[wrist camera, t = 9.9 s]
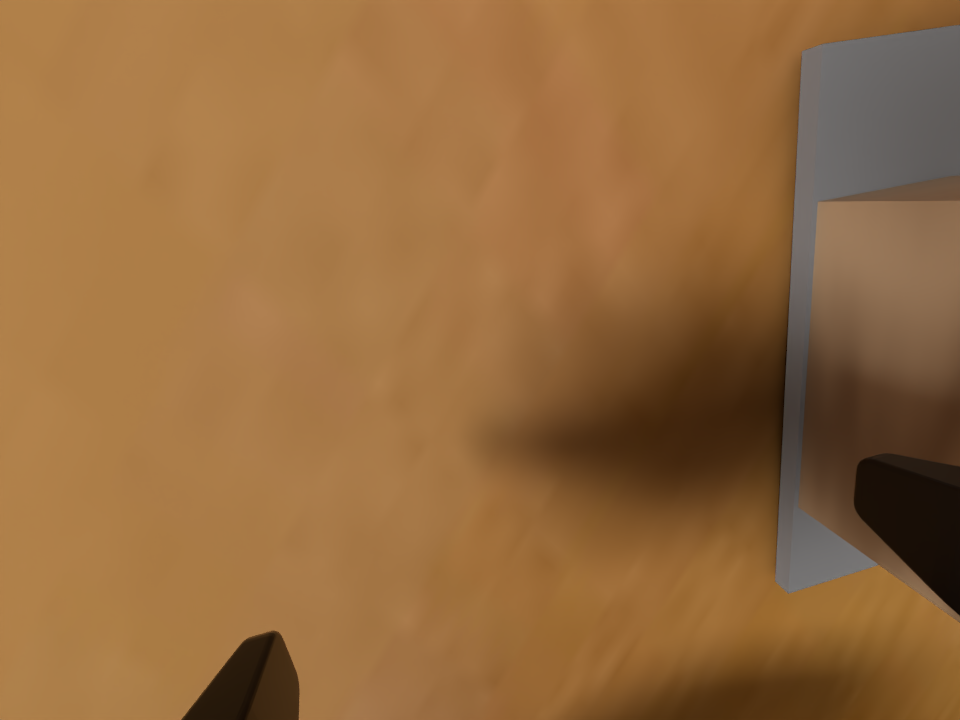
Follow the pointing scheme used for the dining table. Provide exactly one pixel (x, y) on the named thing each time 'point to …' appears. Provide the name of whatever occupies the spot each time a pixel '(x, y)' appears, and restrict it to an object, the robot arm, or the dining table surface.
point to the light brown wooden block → (881, 350)
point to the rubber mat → (843, 172)
